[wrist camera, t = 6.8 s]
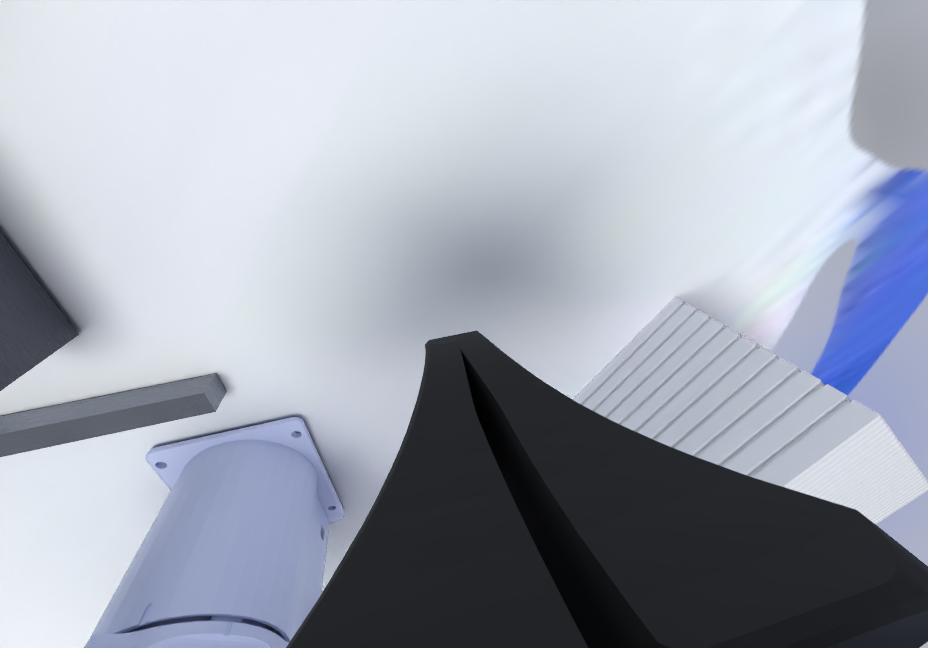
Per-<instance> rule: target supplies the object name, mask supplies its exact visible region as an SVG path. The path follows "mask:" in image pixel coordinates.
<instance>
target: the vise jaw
mask: <svg viewBox="0 0 928 648" xmlns="http://www.w3.org/2000/svg"><path fill="white" fill-rule="evenodd" d="M78 335H79V334H78V332H77V331H76V330H75V328H74V327H73V326H72V325H71V323H70V322H69V321H68V319H67V318H66V317H65V315H64V314H63V313H62V312H61V310H60V309H59V308H58V306H57V305H56V304H55V302H54V301H53V300H52V299H51V297H50V296H49V295H48V293H47V292H46V291H45V289H44V288H43V287H42V286H41V284H40V283H39V282H38V280H37V279H36V278H35V276H34V275H33V274H32V273H31V271H30V270H29V269H28V267H27V266H26V265H25V263H24V262H23V261H22V260H21V258H20V257H19V256H18V254H17V253H16V252H15V251H14V249H13V248H12V247H11V245H10V244H9V243H8V241H7V240H6V239H5V238H4V236H3V235H2V234H1V232H0V391H1V390H2V389H4V388H5V387H7V386H8V385H9V384H11V383H12V382H13V381H15V380H16V379H18V378H19V377H20V376H22V375H23V374H25V373H26V372H27V371H29V370H30V369H32V368H33V367H34V366H36V365H37V364H39V363H40V362H41V361H43V360H44V359H46V358H47V357H48V356H50V355H51V354H53V353H54V352H55V351H57V350H58V349H59V348H61V347H62V346H64V345H65V344H66V343H68V342H69V341H71V340H72V339H73V338H75V337H76V336H78Z"/></svg>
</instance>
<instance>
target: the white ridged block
mask: <svg viewBox="0 0 928 648" xmlns="http://www.w3.org/2000/svg"><path fill="white" fill-rule="evenodd" d="M573 400H574V401H576V402H577V403H579V404H581V405H583V406H585V407H587V408H589V409H590V410H592V411H594V412H596V413H598V414H600V415H602V416H604V417H606V418H608V419H610V420H612V421H614V422H616V423H618V424H620V425H622V426H624V427H626V428H628V429H631V430H633V431H635V432H638V433H640V434H642V435H644V436H647V437H649V438H651V439H653V440H656V441H658V442H660V443H662V444H665V445H667V446H670V447H672V448H675V449H677V450H680V451H682V452H685V453H687V454H690V455H692V456H695V457H698V458H700V459H703V460H706V461H709V462H711V463H714V464H717V465H720V466H722V467H725V468H728V469H731V470H733V471H736V472H739V473H741V474H744V475H747V476H750V477H753V478H756V479H759V480H763V481H766V482H769V483H772V484H775V485H779V486H782V487H785V488H788V489H791V490H795V491H798V492H801V493H804V494H807V495H811V496H814V497H817V498H820V499H824V500H827V501H830V502H833V503H836V504H840V505H843V506H846V507H849V508H852V509H856V510H857V511H859V512H860V513H861V514H863V515H864V516H865V517H867V518H868V519H869V520H870V521H872V522H873V523H874V524H877V523H878V522H880V521H881V520H883V519H884V518H886V517H888V516H889V515H891V514H892V513H894V512H895V511H897V510H898V509H900V508H901V507H903V506H904V505H906V504H908V503H909V502H911V501H912V500H914V499H915V498H916V497H918V496H920V495H921V494H923V493H924V492H926V491H927V490H928V481H927V480H926V478H925V477H924V476H923V474H922V473H921V471H920V470H919V468H918V467H917V466H916V464H915V463H914V461H913V460H912V459H911V457H910V456H909V454H908V453H907V452H906V450H905V449H904V447H903V446H902V445H901V443H900V442H899V440H898V439H897V437H896V436H895V435H894V433H893V432H892V430H891V429H890V428H889V426H888V425H887V423H886V422H885V421H884V419H883V418H882V416H881V415H880V414H878V413H877V412H875V411H873V410H871V409H870V408H868V407H866V406H864V405H863V404H861V403H859V402H857V401H856V400H853V401H852V402H851V400H850V399H849V398H848V396H847V395H845V394H844V393H842V392H840V391H838V390H837V389H835V388H833V387H831V386H830V385H828V384H827V385H824V384H823V383H822V381H821V380H819V379H818V378H816V377H814V376H812V375H811V374H809V373H807V372H805V371H804V370H802V371H800V370H799V368H798V367H797V366H795V365H793V364H792V363H790V362H788V361H786V360H785V359H783V358H780V359H779V358H778V356H777V355H776V354H774V353H772V352H771V351H769V350H767V349H766V348H764V347H762V346H761V347H760V346H759V345H758V344H757V343H755V342H753V341H752V340H750V339H748V338H746V337H745V336H743V337H742V336H741V335H740V334H739V333H738V332H736V331H734V330H733V329H731V328H729V327H726V326H725V325H724V324H722V323H720V322H719V321H717V320H715V319H714V318H712V319H711V318H710V316H708V315H707V314H705V313H703V312H701V311H700V310H699V311H698V310H697V309H696V308H694V307H693V306H691V305H689V304H687V303H685V302H684V301H682V300H681V299H679V298H677V297H674V298H673V299H672V300H671V301H670V302H669V303H668V304H667V305H666V306H665V307H664V308H663V309H662V310H661V311H660V312H659V313H658V314H657V315H656V316H655V317H654V318H653V319H652V320H651V321H650V322H649V323H648V324H647V325H646V326H645V327H644V328H643V329H642V331H641V332H640V333H639V334H638V335H637V336H636V337H635V338H634V339H633V340H632V341H631V342H630V343H629V344H628V345H627V346H626V347H625V348H624V349H623V350H622V351H621V352H620V353H619V354H618V355H617V356H616V357H615V358H614V359H613V360H612V361H611V362H610V363H609V364H608V365H607V366H606V367H605V368H604V369H603V370H602V371H601V372H600V373H599V374H598V375H597V376H596V377H595V378H594V379H593V380H592V381H591V382H590V383H589V384H588V385H587V386H586V387H585V388H584V389H583V390H582V391H581V392H580V393H579V394H578V395H577V396H576V397H575V398H574V399H573Z"/></svg>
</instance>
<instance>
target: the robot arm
mask: <svg viewBox="0 0 928 648" xmlns="http://www.w3.org/2000/svg"><path fill="white" fill-rule="evenodd" d="M425 348H426V358H425V366H424V372H423V377H422V381H421V386H420V390H419V394H418V398H417V402H416V405H415V408H414V411H413V414H412V417H411V420H410V423H409V426H408V429H407V432H406V434H405V437H404V440H403V442H402V445H401V447H400V450H399V452H398V454H397V457H396V459H395V461H394V463H393V466H392V468H391V470H390V472H389V474H388V476H387V478H386V481H385V483H384V485H383V487H382V489H381V491H380V493H379V495H378V497H377V499H376V501H375V503H374V505H373V507H372V509H371V510H370V512H369V514H368V516H367V518H366V520H365V522H364V523H363V525H362V527H361V529H360V530H359V532H358V534H357V535H356V537H355V539H354V541H353V542H352V544H351V546H350V547H349V549H348V551H347V552H346V554H345V556H344V558H343V559H342V561H341V563H340V564H339V566H338V568H337V569H336V571H335V573H334V575H333V576H332V578H331V580H330V581H329V583H328V584H327V586H326V588H325V589H324V591H323V592H322V584H323V575H324V566H325V557H326V548H327V539H328V530H329V523H332V522H336V521H339V520H341V519H342V518H343V517H344V509H343V507H342V505H341V502H340V500H339V498H338V496H337V494H336V491H335V489H334V487H333V485H332V483H331V481H330V478H329V476H328V474H327V472H326V470H325V467H324V465H323V463H322V461H321V459H320V456H319V454H318V452H317V450H316V448H315V445H314V443H313V441H312V439H311V437H310V434H309V432H308V430H307V428H306V426H305V424H304V422H303V420H302V419H300V418H297V417H291V418H287V419H282V420H278V421H273V422H268V423H264V424H259V425H255V426H250V427H246V428H241V429H237V430H232V431H227V432H223V433H218V434H214V435H209V436H205V437H200V438H196V439H191V440H186V441H182V442H177V443H173V444H168V445H164V446H159V447H155V448H152V449H150V450H149V451H148V453H147V454H146V456H145V459H146V461H147V462H148V463H149V464H150V466H151V467H152V468H153V469H154V470H155V472H156V473H157V474H158V475H159V476H160V478H161V479H162V480H163V481H164V482H165V484H166V485H167V486H168V487H169V488H170V490H171V492H170V494H169V496H168V497H167V499H166V501H165V503H164V505H163V506H162V508H161V510H160V512H159V514H158V515H157V517H156V519H155V521H154V523H153V525H152V526H151V528H150V530H149V532H148V534H147V535H146V537H145V539H144V541H143V543H142V544H141V546H140V548H139V550H138V552H137V554H136V555H135V557H134V559H133V561H132V563H131V564H130V566H129V568H128V570H127V572H126V573H125V575H124V577H123V579H122V581H121V583H120V584H119V586H118V588H117V590H116V592H115V593H114V595H113V597H112V599H111V601H110V602H109V604H108V606H107V608H106V610H105V612H104V613H103V615H102V617H101V619H100V621H99V622H98V624H97V626H96V628H95V630H94V631H93V633H92V635H91V637H90V639H89V641H88V642H87V644H86V645H85V647H84V648H919V647H921V646H922V645H923V644H925V643H926V642H928V566H927V565H925V564H924V563H923V562H921V561H920V560H919V559H918V558H917V557H915V556H914V555H913V554H912V553H910V552H909V551H908V550H906V549H905V548H904V547H903V546H902V545H900V544H899V543H898V542H897V541H895V540H894V539H893V538H892V537H890V536H889V535H888V534H887V533H885V532H884V531H883V530H881V529H880V528H879V527H878V526H877V525H875V524H874V523H873V522H872V521H870V520H869V519H868V518H867V517H865V516H864V515H863V514H861V513H860V512H859V511H857V510H856V509H852V508H849V507H846V506H843V505H840V504H836V503H833V502H830V501H827V500H824V499H820V498H817V497H814V496H811V495H807V494H804V493H801V492H798V491H795V490H791V489H788V488H785V487H782V486H779V485H775V484H772V483H769V482H766V481H763V480H759V479H756V478H753V477H750V476H747V475H744V474H741V473H739V472H736V471H733V470H731V469H728V468H725V467H722V466H720V465H717V464H714V463H711V462H709V461H706V460H703V459H700V458H698V457H695V456H692V455H690V454H687V453H685V452H682V451H680V450H677V449H675V448H672V447H670V446H667V445H665V444H662V443H660V442H658V441H656V440H653V439H651V438H649V437H647V436H644V435H642V434H640V433H638V432H635V431H633V430H631V429H628V428H626V427H624V426H622V425H620V424H618V423H616V422H614V421H612V420H610V419H608V418H606V417H604V416H602V415H600V414H598V413H596V412H594V411H592V410H590V409H589V408H587V407H585V406H583V405H581V404H579V403H577V402H576V401H574V400H572V399H570V398H569V397H567V396H565V395H564V394H562V393H560V392H559V391H557V390H556V389H554V388H552V387H551V386H549V385H548V384H546V383H545V382H543V381H542V380H540V379H539V378H537V377H536V376H534V375H533V374H532V373H530V372H529V371H528V370H526V369H525V368H523V367H522V366H521V365H519V364H518V363H517V362H515V361H514V360H513V359H511V358H510V357H509V356H507V355H506V354H505V353H504V352H502V351H501V350H500V349H499V348H497V347H496V346H495V345H494V344H493V343H491V342H490V341H489V340H488V339H487V338H485V337H484V336H483V335H482V334H481V333H479V332H478V331H472V332H467V333H462V334H458V335H453V336H448V337H443V338H438V339H433V340H429V341H428V342H427V343H426V344H425ZM294 431H298V432H300V433H296V432H294ZM321 593H322V594H321Z"/></svg>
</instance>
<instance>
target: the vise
mask: <svg viewBox="0 0 928 648" xmlns="http://www.w3.org/2000/svg"><path fill="white" fill-rule="evenodd" d="M225 394H226V390H225V388H224V386H223V385H222V383H221V381H220V379H219V378H218V376H217V374H211V375H206V376H201V377H196V378H191V379H186V380H181V381H176V382H171V383H166V384H161V385H156V386H150V387H145V388H140V389H135V390H130V391H125V392H120V393H115V394H110V395H105V396H100V397H95V398H90V399H85V400H80V401H75V402H70V403H65V404H60V405H54V406H49V407H44V408H39V409H34V410H29V411H24V412H19V413H14V414H9V415H4V416H0V457H3V456H8V455H13V454H17V453H22V452H27V451H32V450H36V449H41V448H46V447H51V446H55V445H60V444H65V443H69V442H74V441H79V440H84V439H88V438H93V437H98V436H103V435H107V434H112V433H117V432H121V431H126V430H131V429H136V428H140V427H145V426H150V425H155V424H159V423H164V422H169V421H173V420H178V419H183V418H188V417H192V416H197V415H202V414H207V413H211V412H216V410H217V408H218V406H219V405H220V403H221V401H222V399H223V397H224V395H225Z"/></svg>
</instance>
